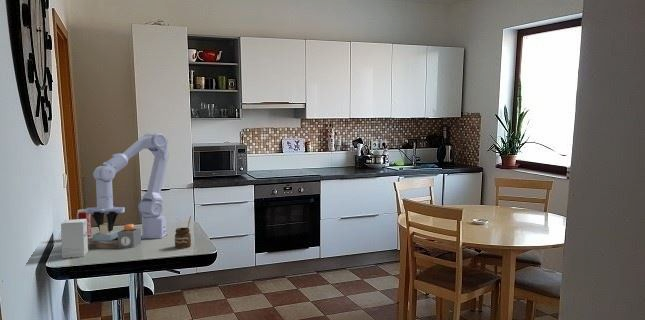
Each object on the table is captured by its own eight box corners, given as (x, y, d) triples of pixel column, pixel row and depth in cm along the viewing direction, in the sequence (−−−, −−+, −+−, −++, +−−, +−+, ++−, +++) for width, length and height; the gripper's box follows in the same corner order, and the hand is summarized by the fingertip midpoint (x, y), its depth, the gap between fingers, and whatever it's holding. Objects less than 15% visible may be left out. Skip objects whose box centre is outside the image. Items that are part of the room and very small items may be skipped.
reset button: (135, 229, 183) (135, 224, 183) (132, 231, 180) (131, 225, 179) (126, 229, 183) (126, 224, 183) (122, 231, 180) (122, 225, 179)
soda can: (85, 239, 193) (84, 211, 192) (74, 239, 194) (73, 210, 193) (94, 236, 198) (93, 209, 197) (83, 236, 199) (82, 208, 198)
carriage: (119, 236, 185) (118, 222, 185) (111, 240, 178) (110, 225, 178) (101, 236, 185) (101, 222, 185) (93, 240, 178) (92, 226, 178)
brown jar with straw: (176, 245, 181) (175, 214, 181) (193, 244, 182) (192, 214, 181) (173, 248, 175) (172, 217, 175) (190, 248, 176) (189, 217, 175)
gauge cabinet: (140, 243, 185) (140, 228, 185) (133, 247, 178) (132, 232, 177) (125, 243, 185) (125, 228, 185) (117, 247, 178) (117, 232, 177)
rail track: (126, 243, 186) (126, 231, 185) (117, 247, 178) (117, 236, 177) (84, 243, 186) (83, 232, 185) (73, 248, 178) (73, 236, 177)
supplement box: (84, 256, 165) (83, 221, 165) (61, 258, 163) (60, 223, 162) (88, 251, 172) (87, 218, 172) (66, 253, 170) (65, 219, 170)
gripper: (80, 198, 177) (82, 233, 177) (118, 197, 176) (120, 233, 177) (90, 195, 184) (91, 229, 184) (126, 195, 184) (127, 229, 184)
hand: (106, 231), depth 181 cm, fingers closed on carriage, 3 cm apart
